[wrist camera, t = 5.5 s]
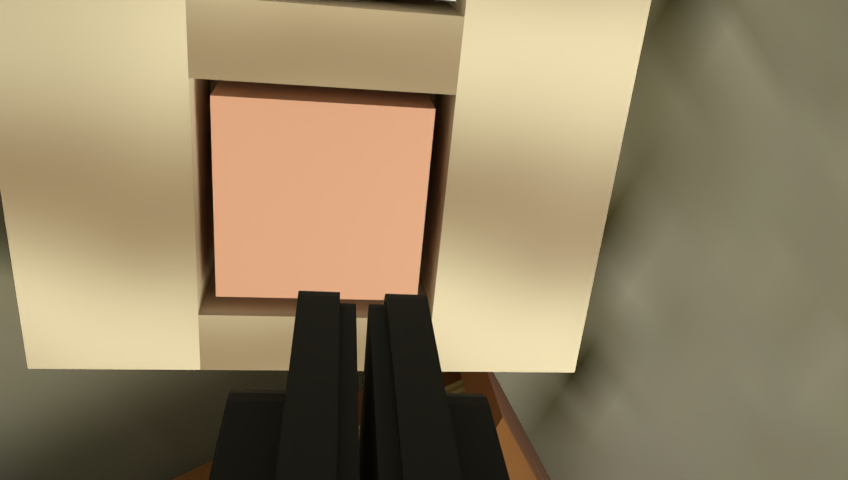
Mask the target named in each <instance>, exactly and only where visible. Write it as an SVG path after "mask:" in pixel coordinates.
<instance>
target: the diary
mask: <svg viewBox="0 0 848 480" xmlns="http://www.w3.org/2000/svg"><path fill="white" fill-rule="evenodd" d="M442 376H443V381H444V386H445V392H446V393H464V394H484V395H485V396H486V397H487V400H488V402H489V405H490V408H491V412H492V416H493V419H494V423H495V427H496V430H497V434H498V438H499V441H500V445H501V449H502V452H503V456H504V460H505V463H506V467H507V471H508V474H509V478H510V480H551V479H550V477H549V476H548V474H547V472H546V470H545V468H544V466H543V464H542V463H541V461H540V459H539V457H538V455H537V453H536V451H535V450H534V448H533V446H532V444H531V442H530V440H529V438H528V436H527V435H526V433H525V431H524V429H523V427H522V425H521V423H520V422H519V420H518V418H517V416H516V414H515V412H514V410H513V409H512V407H511V405H510V403H509V401H508V399H507V397H506V395H505V394H504V392H503V390H502V388H501V386H500V384H499V382H498V381H497V379H496V377H495V375H494V373H493V372H442ZM362 390H363V389H362ZM362 390H360V391H358V424H359V433H360V418H361V404H362ZM212 463H213V460H212V461H210V462H208V463H205V464H203V465H201V466H199V467H197V468H195V469H193V470H191V471H188V472H186V473H184V474H182V475H180V476H178V477H176V478H174V479H172V480H209V476H210V471H211V467H212Z"/></svg>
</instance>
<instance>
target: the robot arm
mask: <svg viewBox="0 0 848 480" xmlns="http://www.w3.org/2000/svg"><path fill="white" fill-rule="evenodd" d="M209 480H510V478H509V474H508V471H507V467H506V463H505V460H504V456H503V452H502V449H501V445H500V441H499V438H498V434H497V430H496V427H495V423H494V419H493V416H492V412H491V408H490V405H489V402H488V400H487V397H486V396H485V395H484V394H464V393H446V392H445V386H444V381H443V376H442V371H441V366H440V361H439V355H438V350H437V345H436V340H435V335H434V329H433V324H432V319H431V314H430V309H429V303H428V299H427V295H413V294H385V297H384V304H369V307H368V318H367V332H366V347H365V361H364V375H363V390H362V404H361V418H360V433H359V424H358V373H357V323H356V303H340V292H324V291H298V298H297V307H296V315H295V323H294V331H293V339H292V348H291V356H290V364H289V372H288V381H287V389H286V391H283V390H231V391H230V393H229V396H228V399H227V403H226V407H225V412H224V416H223V420H222V424H221V429H220V433H219V437H218V441H217V446H216V450H215V454H214V458H213V463H212V467H211V471H210V476H209Z"/></svg>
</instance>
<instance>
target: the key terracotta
mask: <svg viewBox="0 0 848 480" xmlns="http://www.w3.org/2000/svg"><path fill="white" fill-rule="evenodd" d="M435 110H436V109H435V107H434V105H433V103H432V101H431V100H430V98H429V96H428V94H427V93H416V92H400V91H384V90H368V89H352V88H336V87H321V86H305V85H289V84H273V83H257V82H241V81H225V80H220V81H219V82H218V84H217V85H216V87H215V88H214V90H213V92H212V93H211V95H210V112H211V146H212V180H213V214H214V249H215V283H216V297H260V298H298V291H324V292H340V299H355V300H384V297H385V294H413V295H417V294H418V284H419V274H420V264H421V253H422V243H423V233H424V223H425V212H426V202H427V192H428V182H429V171H430V161H431V151H432V141H433V130H434V120H435Z"/></svg>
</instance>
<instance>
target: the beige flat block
mask: <svg viewBox="0 0 848 480" xmlns="http://www.w3.org/2000/svg"><path fill="white" fill-rule="evenodd" d="M650 4H651V0H456V1H448V0H0V191H1V198H2V204H3V211H4V217H5V224H6V230H7V237H8V243H9V250H10V256H11V262H12V269H13V275H14V282H15V288H16V295H17V301H18V308H19V314H20V321H21V327H22V334H23V340H24V347H25V353H26V359H27V366H28V369H147V370H289V364H290V356H291V348H292V339H293V331H294V323H295V315H296V307H297V298H260V297H216V283H215V249H214V214H213V180H212V146H211V112H210V95H211V93H212V92H213V90H214V88H215V87H216V85H217V84H218V82H219V81H220V80H225V81H241V82H257V83H273V84H289V85H305V86H321V87H336V88H352V89H368V90H384V91H400V92H416V93H427V94H428V96H429V98H430V100H431V101H432V103H433V105H434V107H435V109H436V110H435V120H434V130H433V141H432V151H431V161H430V171H429V182H428V192H427V202H426V212H425V223H424V233H423V243H422V253H421V264H420V274H419V284H418V294H417V295H427V299H428V303H429V309H430V314H431V319H432V324H433V329H434V335H435V340H436V345H437V350H438V355H439V361H440V366H441V371H442V372H575V367H576V362H577V357H578V353H579V348H580V343H581V338H582V333H583V328H584V324H585V319H586V314H587V309H588V304H589V299H590V294H591V290H592V285H593V280H594V275H595V270H596V265H597V261H598V256H599V251H600V246H601V241H602V236H603V231H604V227H605V222H606V217H607V212H608V207H609V202H610V198H611V193H612V188H613V183H614V178H615V173H616V168H617V164H618V159H619V154H620V149H621V144H622V139H623V135H624V130H625V125H626V120H627V115H628V110H629V106H630V101H631V96H632V91H633V86H634V81H635V76H636V72H637V67H638V62H639V57H640V52H641V47H642V43H643V38H644V33H645V28H646V23H647V18H648V13H649V9H650ZM340 303H356V323H357V371H364V361H365V347H366V332H367V318H368V307H369V304H384V300H355V299H340Z"/></svg>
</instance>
